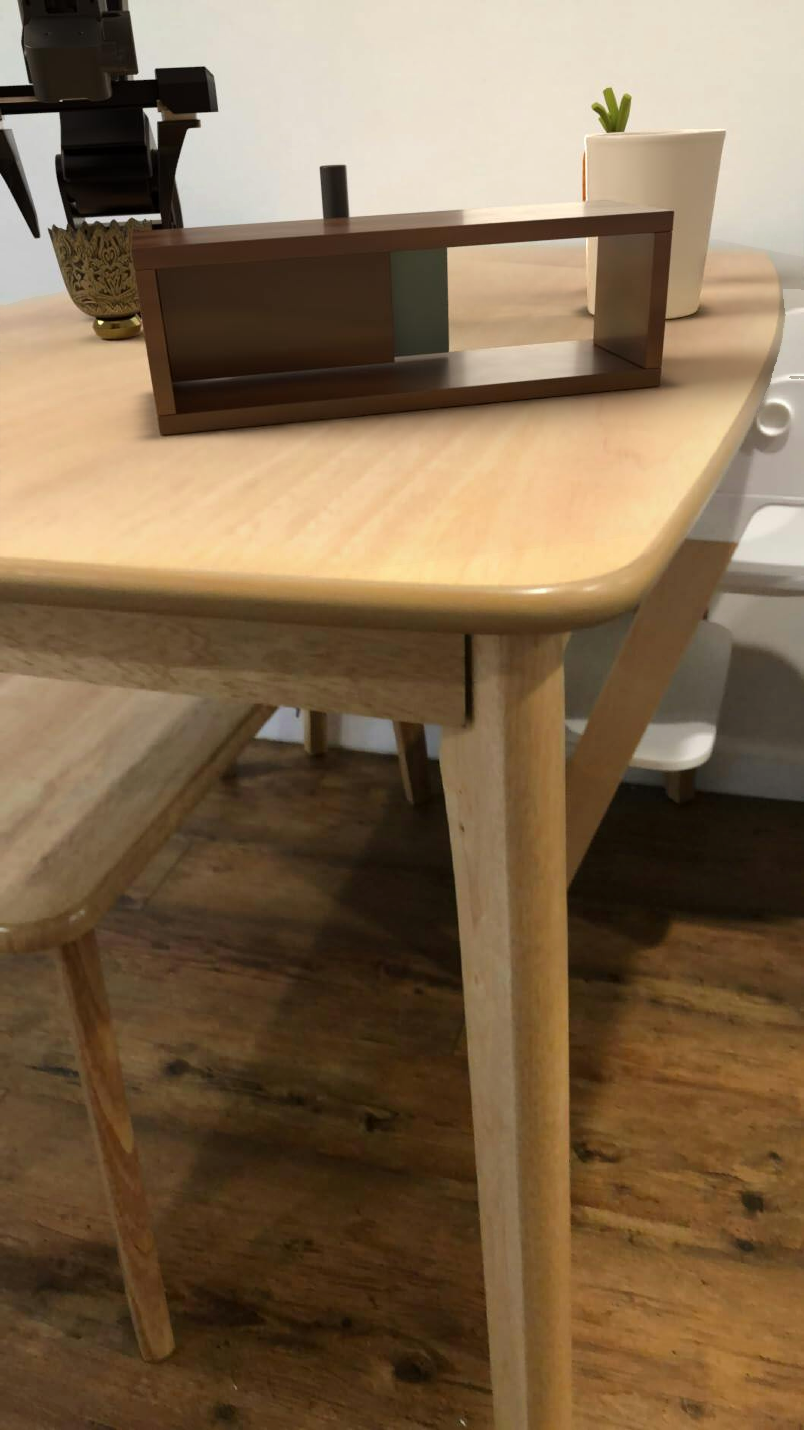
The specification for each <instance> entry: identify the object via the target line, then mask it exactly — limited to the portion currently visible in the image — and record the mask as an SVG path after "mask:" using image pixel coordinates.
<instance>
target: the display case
mask: <svg viewBox="0 0 804 1430" xmlns="http://www.w3.org/2000/svg"><path fill="white" fill-rule="evenodd" d="M673 221H674V211H673V210H668V209H661V208H655V207H649V206H643V205H637V204H631V203H624V202H618V201H612V200H598V201H583V200H582V201H568V202H555V203H541V204H539V203H538V204H525V205H524V204H523V205H511V206H509V205H508V206H496V207H495V206H494V207H482V208H479V207H477V208H465V209H451V210H449V209H448V210H434V211H420V212H406V213H389V214H376V215H374V214H373V215H362V216H361V215H360V216H350V217H343V218H328V219H323V218H316V219H300V220H285V221H284V220H283V221H270V222H268V221H267V222H255V223H254V222H253V223H239V224H226V225H225V224H224V225H223V224H222V225H209V226H208V225H207V226H194V227H184V228H177V229H162V230H147V231H132V232H131V256H132V262H133V268H134V274H135V281H136V287H137V293H138V299H139V306H140V312H141V314H140V319H141V321H142V330H143V337H144V343H145V348H146V355H147V356H146V357H147V362H148V368H149V375H150V381H151V386H152V393H153V399H154V406H155V412H156V418H157V424H158V431H159V435H160V436H169V435H179V434H188V433H199V432H208V431H209V432H210V431H217V430H218V431H219V430H228V429H237V428H238V429H239V428H247V427H248V428H249V427H259V426H268V425H278V424H279V425H280V424H290V423H301V422H308V421H318V420H319V421H320V420H327V419H328V420H329V419H338V418H339V419H340V418H350V417H360V416H369V415H379V414H380V415H381V414H390V413H399V412H409V411H411V412H412V411H417V410H418V411H421V410H430V409H440V408H449V407H461V406H470V405H480V404H481V405H483V404H492V403H500V402H511V401H512V402H513V401H521V400H532V399H541V398H542V399H543V398H551V397H561V396H562V397H563V396H573V395H581V394H592V393H601V392H611V391H612V392H613V391H622V390H623V391H624V390H632V389H641V388H652V387H660V386H661V383H662V370H663V369H662V367H663V355H664V342H665V330H666V320H667V319H666V307H667V294H668V282H669V269H670V257H671V244H672V232H671V231H673ZM587 237H598V248H597V269H596V291H595V312H594V315H593V334H592V336H593V337H592V338H588V339H578V340H565V341H556V342H555V341H554V342H545V343H534V344H524V345H521V344H520V345H512V346H511V345H510V346H500V347H490V348H478V349H468V350H467V349H466V350H465V349H464V350H455V351H449V352H445V353H434V354H423V355H412V356H401V357H395V355H394V332H393V310H392V288H391V265H390V252H394V251H408V250H422V249H435V248H447V249H448V248H460V247H474V246H477V247H478V246H490V245H500V244H501V245H502V244H503V245H504V244H516V243H533V242H544V241H545V242H546V241H557V240H571V239H573V240H574V239H584V238H585V239H586V238H587Z"/></svg>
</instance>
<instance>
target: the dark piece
mask: <svg viewBox="0 0 804 1430" xmlns="http://www.w3.org/2000/svg"><path fill="white" fill-rule="evenodd" d="M347 167H348V166H347V164H326V165H320V166H319V178H320V179H319V182H320V192H321V207H322V219H328V218H343V217H351V216H350V200H349V183H348V168H347ZM448 263H449V262H448V248H435V249H422V250H408V251H394V252H390V265H391V288H392V310H393V332H394V355H395V357H401V356H412V355H423V354H434V353H445V352H450V322H449V320H450V319H449V316H450V315H449V270H448V269H449V268H448V266H449V264H448Z"/></svg>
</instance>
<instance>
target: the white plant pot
mask: <svg viewBox="0 0 804 1430" xmlns="http://www.w3.org/2000/svg"><path fill="white" fill-rule="evenodd" d="M726 136H727V130H726V129H724V128H688V129H686V128H685V129H658V130H637V131H635V130H634V131H624V132H616V133H606V132H604V133H602V132H601V133H590V134H586V135H584V141H583V142H584V152H586V201H598V200H612V201H618V202H624V203H631V204H637V205H643V206H649V207H655V208H661V209H668V210H673V211H674V221H673V231H671V232H672V244H671V257H670V269H669V282H668V294H667V307H666V319H665V320H670V319H671V320H672V319H678V318H684V317H687V316H690V315H693V314H695V313H696V312H697V311H698V309H699V305H700V300H701V295H702V294H701V293H702V290H703V289H702V288H703V283H704V275H705V268H706V262H707V256H708V249H709V243H710V236H711V229H712V222H713V216H714V210H715V203H716V197H717V196H716V195H717V189H718V183H719V176H720V170H721V163H722V156H723V151H724V144H725V139H726ZM585 240H586V241H585V242H586V244H585V245H586V251H585V253H586V300H587V301H586V303H587V311H588V313H589V314H591V315H592V316H594V312H595V291H596V269H597V248H598V237H587V238H585Z"/></svg>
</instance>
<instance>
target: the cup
mask: <svg viewBox="0 0 804 1430" xmlns="http://www.w3.org/2000/svg"><path fill="white" fill-rule="evenodd" d="M147 220H148V219H146V218H144V219H142V220H141V221H142V223H140V222H139V221H140V220H138V219H136V218H134V217H130V218H129V219H128V220H127V222H126V221H125V222H126V223H125V225H124V226H123V227H121V226H119V224H120V223H119V222H120V221H117V220H116V219H114V218H113V219H111V220H110V227H109V230H107V229H106V227H105V226H104V225H103V224H102V223H103V222H101V221H99V220H95V221H94V222H93V224H92V225H91V226H89V225H88V224H89V223H88V222H87V221H86V220H85V221H83V223H82V225H81V227H80V229H79V228H78V230H77V233H76V231H75V230H74V229H73V228H72V227H71V226H70V224H69V223H66V229H65V228H62V227H58V226H57V225H56V224H54V223H53V224H52V225H51V228H49V227H47V232H48V235H49V238H50V241H51V245H52V248H53V251H54V255H55V258H56V261H57V264H58V267H59V271H60V274H61V278H62V280H63V283H64V285H65V288H66V291H67V293H68V295H69V297H70V299H71V301H72V302H73V304H74V305H75V306H76V307H77V309H78V310H80V311H81V312H82V313H84V314H86V315H87V316H91V317H93V320H92V329H93V332H94V333H95V335H96V336H97V337H99V338H100V339H105V340H122V339H128V338H132V337H135V336H137V335H139V334H140V333H141V330H142V328H143V325H142V318H141V317H140V316H139V315H137V314H136V313H138V312H140V306H139V299H138V293H137V287H136V281H135V274H134V268H133V262H132V256H131V232H132V231H147V230H152V220H153V219H149V220H150V221H149V222H148V221H147ZM118 223H119V224H118ZM150 224H151V225H150ZM120 227H121V228H122V229H121V228H120ZM150 227H151V228H150ZM107 231H108V232H107Z"/></svg>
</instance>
